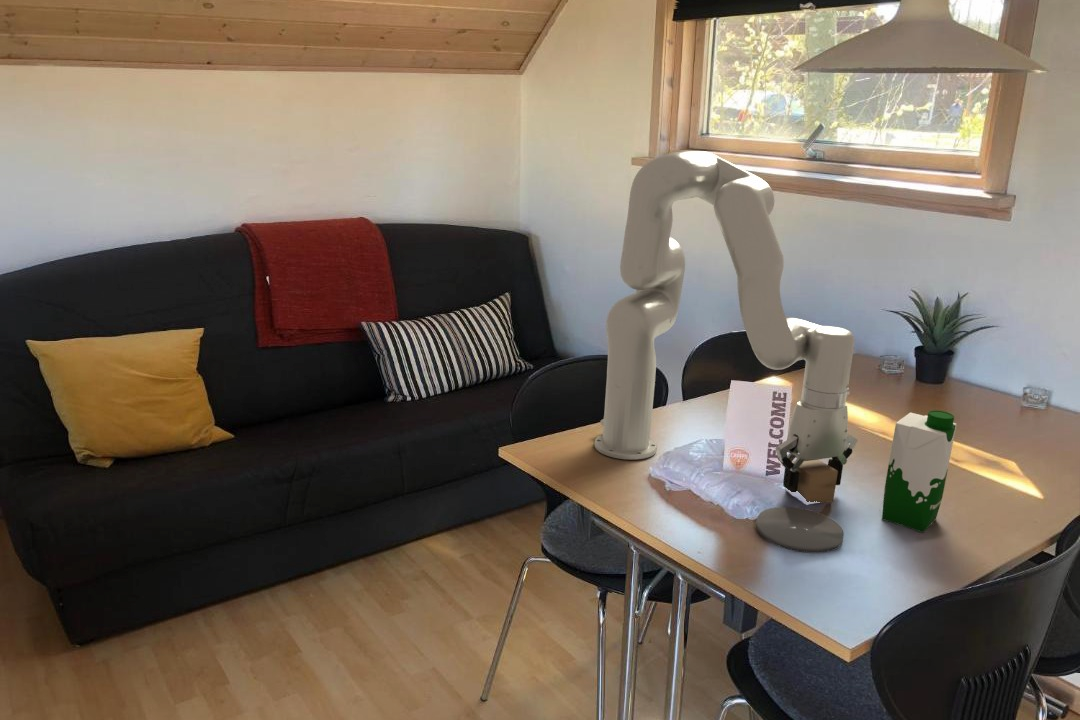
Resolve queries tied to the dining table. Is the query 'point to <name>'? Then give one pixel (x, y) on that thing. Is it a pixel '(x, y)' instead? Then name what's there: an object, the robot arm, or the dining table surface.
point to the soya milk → (918, 469)
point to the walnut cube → (817, 481)
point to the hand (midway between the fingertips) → (811, 485)
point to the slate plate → (799, 529)
